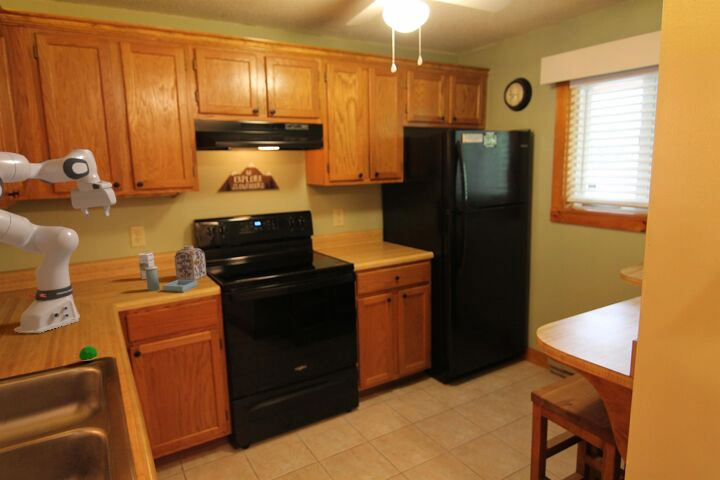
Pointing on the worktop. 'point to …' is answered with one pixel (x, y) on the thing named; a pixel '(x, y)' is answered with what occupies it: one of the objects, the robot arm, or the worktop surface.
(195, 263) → the decorative jar
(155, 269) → the tea tin
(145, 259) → the syrup box
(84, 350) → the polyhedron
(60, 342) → the worktop surface
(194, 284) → the dish
